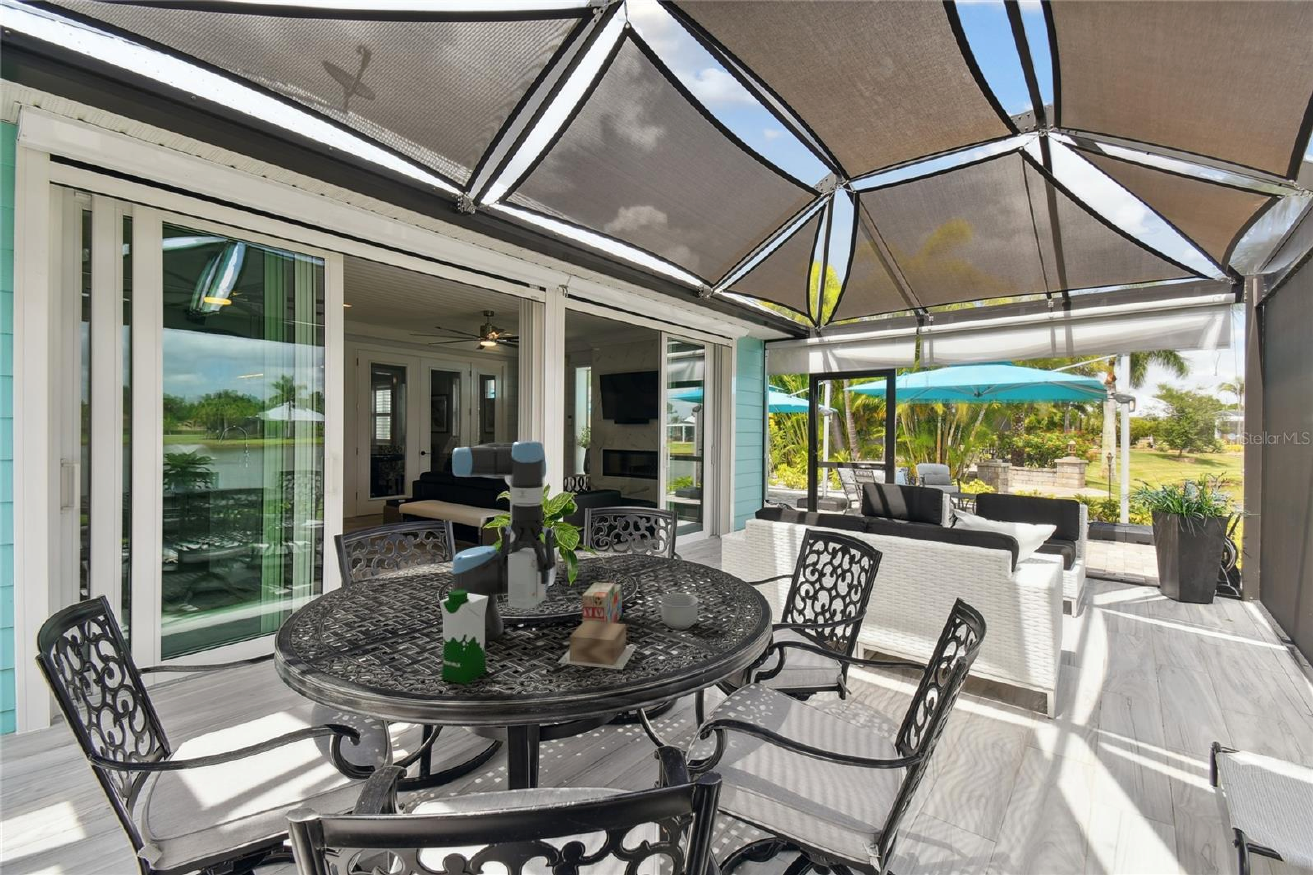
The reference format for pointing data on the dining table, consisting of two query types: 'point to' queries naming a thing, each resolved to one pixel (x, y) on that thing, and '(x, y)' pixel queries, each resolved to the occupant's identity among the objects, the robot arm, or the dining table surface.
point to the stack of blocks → (602, 603)
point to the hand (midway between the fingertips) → (527, 595)
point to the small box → (523, 579)
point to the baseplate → (617, 665)
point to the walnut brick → (598, 642)
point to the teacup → (678, 610)
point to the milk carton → (463, 636)
